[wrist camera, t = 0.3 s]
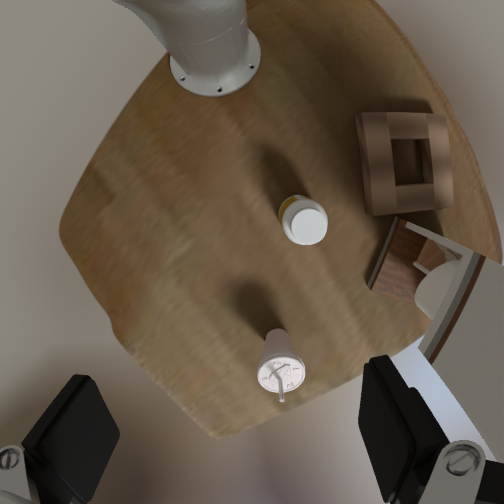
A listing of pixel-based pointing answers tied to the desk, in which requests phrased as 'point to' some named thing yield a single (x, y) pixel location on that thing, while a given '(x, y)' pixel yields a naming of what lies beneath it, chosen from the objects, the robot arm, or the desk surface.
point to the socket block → (382, 169)
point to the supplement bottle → (303, 220)
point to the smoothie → (280, 364)
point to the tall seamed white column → (453, 317)
